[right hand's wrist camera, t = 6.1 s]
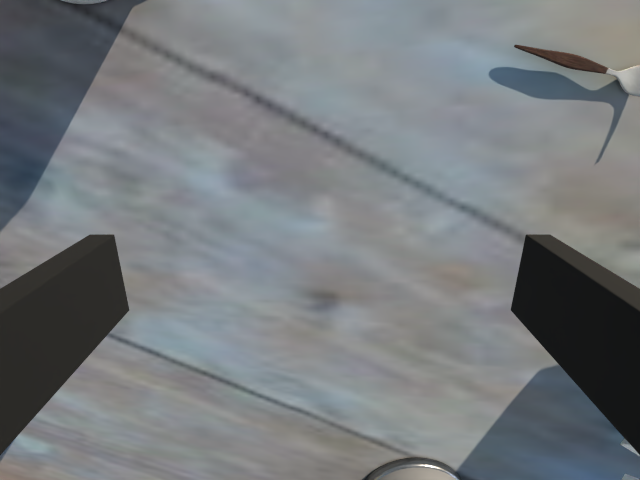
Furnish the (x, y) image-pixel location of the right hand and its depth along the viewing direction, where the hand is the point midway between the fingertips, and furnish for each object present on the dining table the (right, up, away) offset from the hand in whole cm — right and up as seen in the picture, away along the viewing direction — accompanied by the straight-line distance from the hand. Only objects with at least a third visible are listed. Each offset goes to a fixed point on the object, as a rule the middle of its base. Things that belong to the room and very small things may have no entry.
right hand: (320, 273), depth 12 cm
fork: (+25, +17, +23) cm, 39 cm away
